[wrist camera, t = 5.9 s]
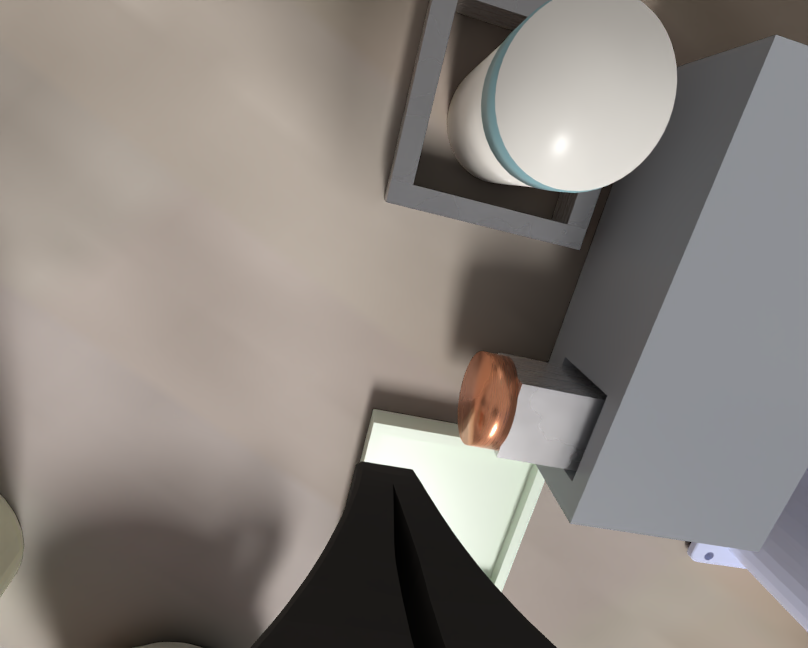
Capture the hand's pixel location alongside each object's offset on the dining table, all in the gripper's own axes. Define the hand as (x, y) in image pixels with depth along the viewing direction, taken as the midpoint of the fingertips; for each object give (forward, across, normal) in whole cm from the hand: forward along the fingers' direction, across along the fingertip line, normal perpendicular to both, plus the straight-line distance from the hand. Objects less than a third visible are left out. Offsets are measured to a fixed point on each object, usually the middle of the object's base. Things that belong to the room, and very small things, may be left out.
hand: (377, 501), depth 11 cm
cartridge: (+10, -3, -10) cm, 14 cm away
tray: (+10, -5, +7) cm, 13 cm away
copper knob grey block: (+9, -8, 0) cm, 12 cm away
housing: (+10, -12, -5) cm, 16 cm away
